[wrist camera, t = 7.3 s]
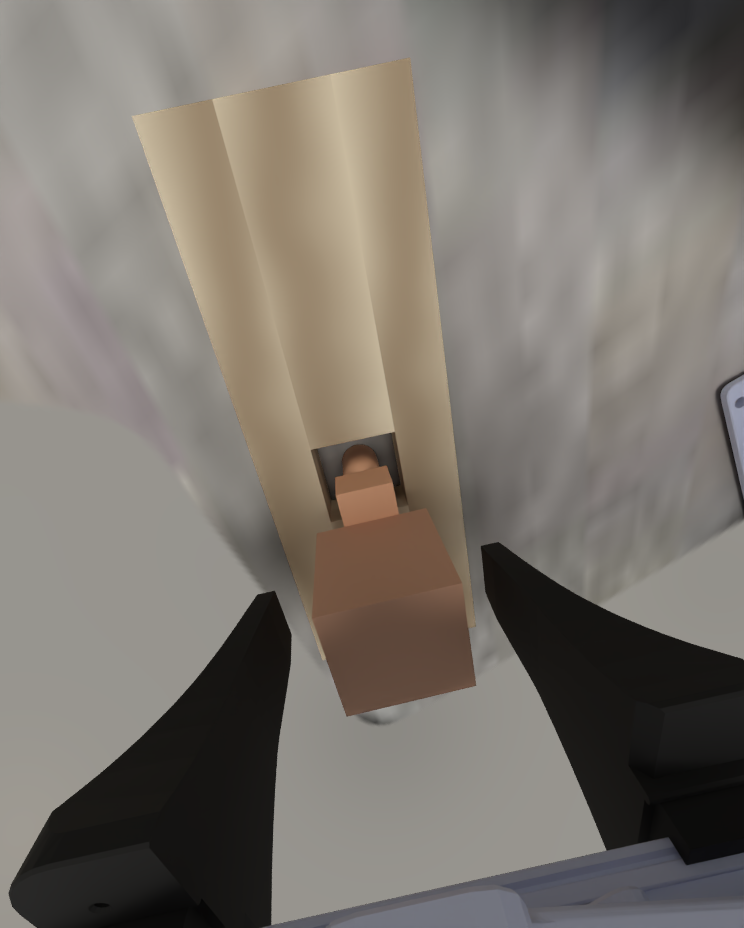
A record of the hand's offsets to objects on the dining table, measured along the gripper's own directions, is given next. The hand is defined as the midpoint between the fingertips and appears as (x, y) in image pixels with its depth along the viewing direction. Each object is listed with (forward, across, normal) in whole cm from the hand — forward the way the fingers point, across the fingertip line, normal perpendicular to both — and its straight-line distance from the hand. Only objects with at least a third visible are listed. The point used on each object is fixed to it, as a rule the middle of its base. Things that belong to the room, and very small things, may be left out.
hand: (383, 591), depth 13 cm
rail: (+6, 0, -4) cm, 7 cm away
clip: (+6, 0, 0) cm, 6 cm away
